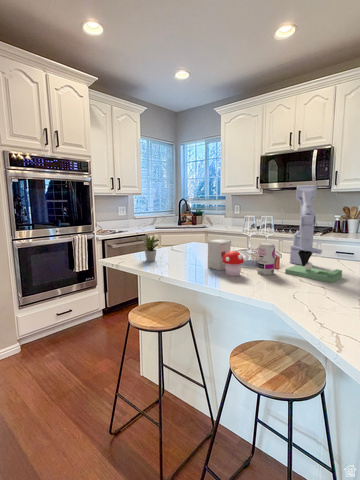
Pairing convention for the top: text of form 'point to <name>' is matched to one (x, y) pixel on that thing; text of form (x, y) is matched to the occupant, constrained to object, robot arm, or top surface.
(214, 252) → the supplement box
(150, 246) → the house plant
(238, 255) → the mushroom
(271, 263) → the supplement can
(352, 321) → the top surface
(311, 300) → the top surface
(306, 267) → the ball
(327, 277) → the green holed board
